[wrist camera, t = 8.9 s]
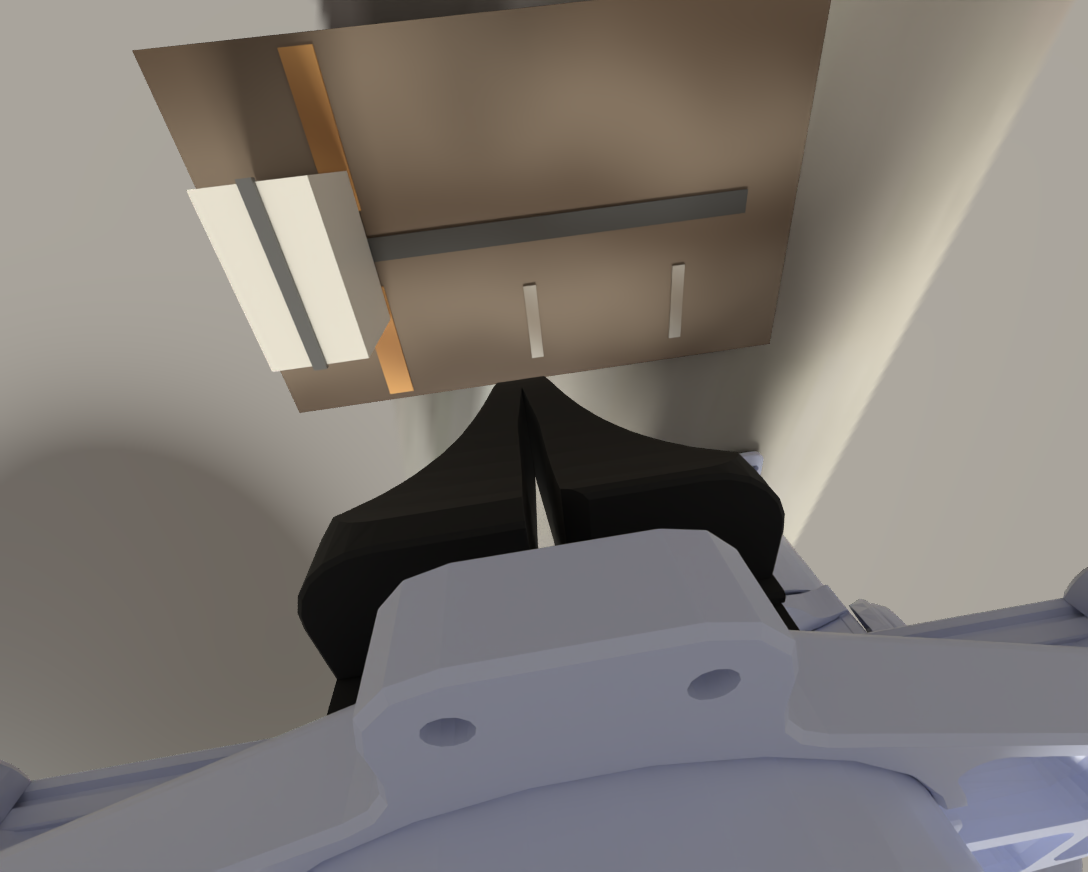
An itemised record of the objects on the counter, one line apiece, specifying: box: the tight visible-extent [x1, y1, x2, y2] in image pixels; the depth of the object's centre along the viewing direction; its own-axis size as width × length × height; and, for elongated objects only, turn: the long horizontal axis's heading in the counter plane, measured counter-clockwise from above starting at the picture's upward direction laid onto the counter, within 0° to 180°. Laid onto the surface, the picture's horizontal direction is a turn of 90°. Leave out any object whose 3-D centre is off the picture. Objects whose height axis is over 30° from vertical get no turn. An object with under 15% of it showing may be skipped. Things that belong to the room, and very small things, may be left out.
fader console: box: [133, 0, 831, 413], centre depth 17 cm, size 12×21×2 cm, turn 96°
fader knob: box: [186, 171, 390, 372], centre depth 14 cm, size 5×3×4 cm, turn 6°
